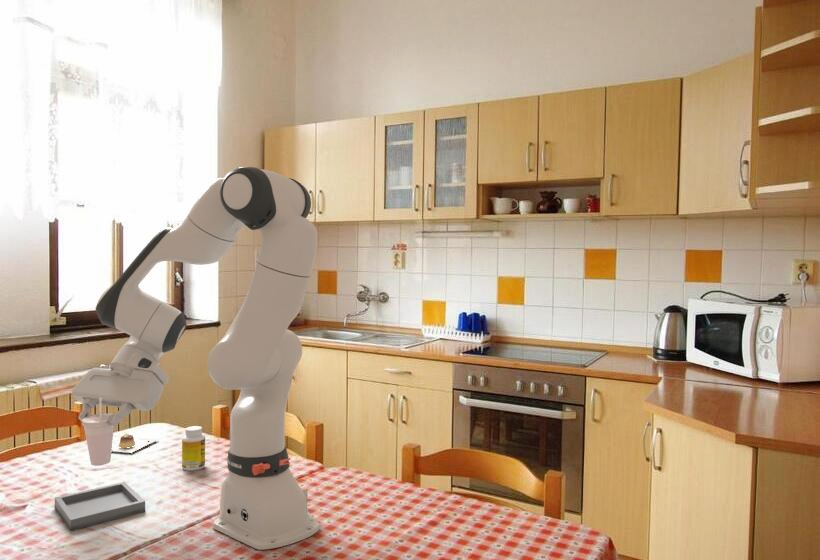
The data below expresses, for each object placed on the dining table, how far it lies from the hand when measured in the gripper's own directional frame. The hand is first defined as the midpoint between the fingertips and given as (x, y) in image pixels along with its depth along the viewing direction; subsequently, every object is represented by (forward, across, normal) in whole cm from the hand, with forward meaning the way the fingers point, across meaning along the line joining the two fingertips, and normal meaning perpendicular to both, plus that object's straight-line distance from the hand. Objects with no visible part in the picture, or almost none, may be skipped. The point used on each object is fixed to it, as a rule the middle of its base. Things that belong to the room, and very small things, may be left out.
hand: (96, 422), depth 125 cm
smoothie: (+6, 0, +7) cm, 9 cm away
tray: (+13, 0, +14) cm, 19 cm away
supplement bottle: (-6, +2, +34) cm, 34 cm away
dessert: (-11, -26, +39) cm, 48 cm away
